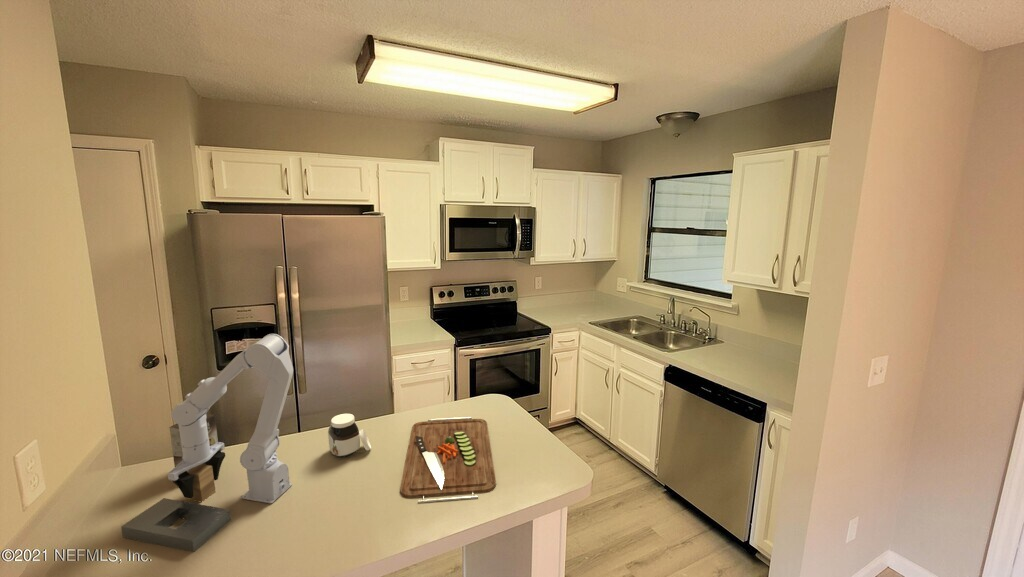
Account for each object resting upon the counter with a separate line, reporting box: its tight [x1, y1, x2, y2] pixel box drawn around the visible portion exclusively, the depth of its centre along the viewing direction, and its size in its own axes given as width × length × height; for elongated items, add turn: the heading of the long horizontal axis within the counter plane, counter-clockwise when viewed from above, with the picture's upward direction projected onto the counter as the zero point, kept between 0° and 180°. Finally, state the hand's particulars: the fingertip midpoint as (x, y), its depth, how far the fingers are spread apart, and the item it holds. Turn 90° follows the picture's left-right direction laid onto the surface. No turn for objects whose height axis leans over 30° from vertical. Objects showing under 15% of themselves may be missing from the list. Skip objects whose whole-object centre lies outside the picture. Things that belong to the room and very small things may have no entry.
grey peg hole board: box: [120, 497, 232, 553], centre depth 100 cm, size 20×10×3 cm, turn 79°
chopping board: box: [399, 416, 497, 504], centre depth 133 cm, size 45×27×3 cm, turn 8°
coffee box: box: [169, 413, 219, 472], centre depth 121 cm, size 9×6×16 cm
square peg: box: [187, 464, 217, 503], centre depth 111 cm, size 4×4×8 cm
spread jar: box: [327, 413, 372, 459], centre depth 133 cm, size 12×11×12 cm
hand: (201, 487), depth 112 cm, fingers open, 7 cm apart
